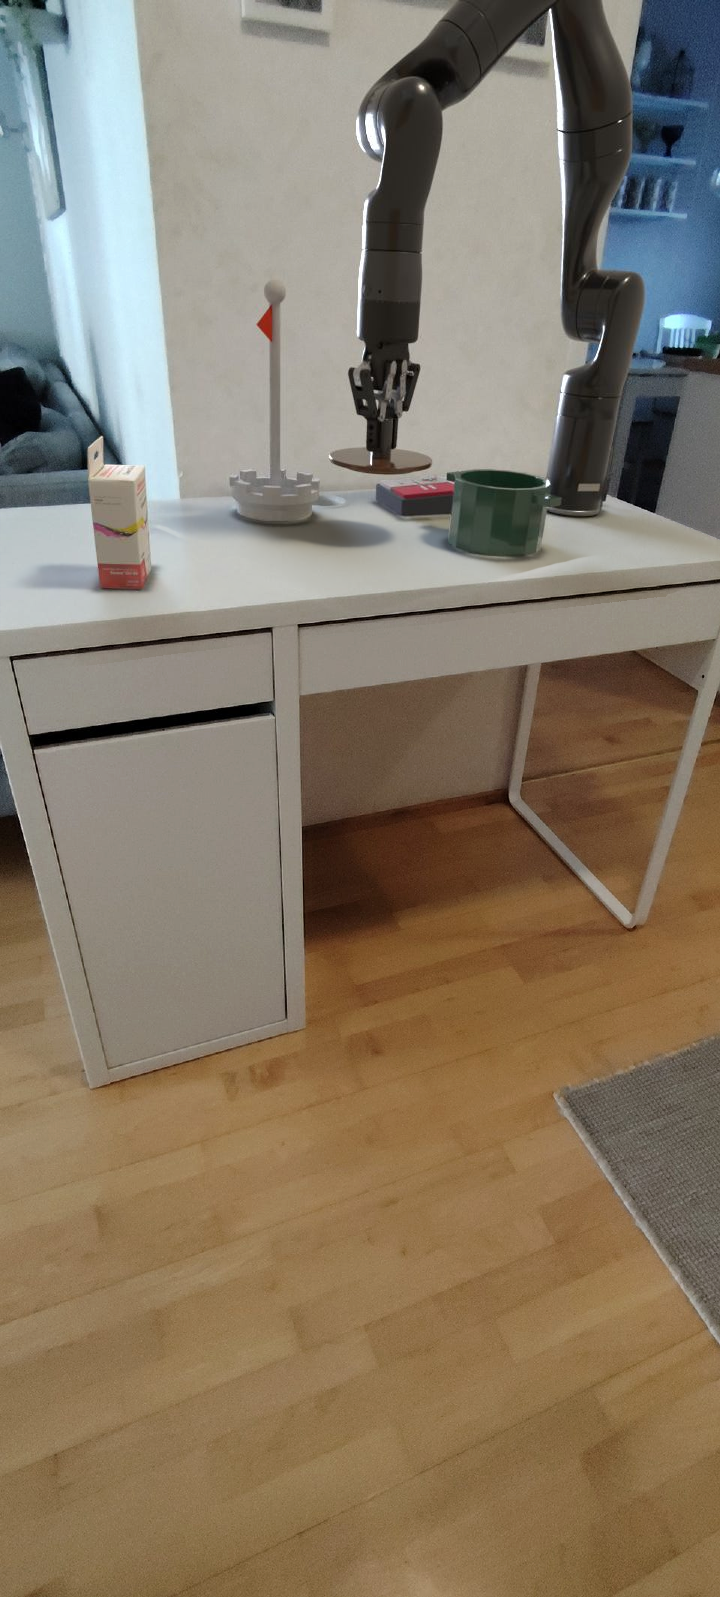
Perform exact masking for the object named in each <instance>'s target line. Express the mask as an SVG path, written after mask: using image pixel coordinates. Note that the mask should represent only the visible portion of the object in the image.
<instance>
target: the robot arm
mask: <svg viewBox="0 0 720 1597" xmlns="http://www.w3.org/2000/svg"><path fill="white" fill-rule="evenodd" d="M548 12H549V18H550V28H551V29H550V30H551V42H552V55H553V56H552V57H553V70H554V71H553V72H554V85H555V98H556V99H555V100H556V101H555V103H556V104H555V106H556V108H555V110H556V140H557V142H556V143H557V160H558V172H559V186H560V204H561V206H560V208H561V264H560V266H561V268H560V273H561V274H560V298H559V300H560V301H559V303H560V306H559V307H560V308H559V309H560V320H561V326H562V330H563V332H564V334H565V336H566V337H567V338H568V339H569V340H572V341H576V342H583V343H591V344H599V345H598V348H597V352H596V354H595V356H594V357H593V358H592V359H591V360H589V361H588V362H586V363H585V364H583V365H580V366H577V367H574V368H570V369H567V370H566V371H565V372H563V374H562V376H561V379H560V387H559V392H558V399H557V405H556V411H555V412H556V413H555V417H554V425H553V430H552V436H551V443H550V449H549V457H548V462H547V468H546V475H545V479H547V480H549V482H550V483H551V489H550V495H554V496H558V497H561V504H560V505H559V506H554V507H547V512H549V513H552V514H557V515H562V516H568V517H592V516H596V515H598V514H600V511H602V509H603V503H604V502H607V501H606V500H607V497H608V493H609V488H610V485H611V484H610V483H611V477H609V473H610V467H611V463H612V458H613V453H614V450H613V448H612V446H613V440H614V435H615V429H616V426H617V420H618V414H619V409H620V404H621V398H622V394H623V390H624V389H623V388H624V386H625V383H626V380H627V377H628V374H629V371H630V368H631V363H632V359H633V354H634V350H635V346H636V342H637V338H638V334H639V331H640V327H641V323H642V318H643V314H644V307H645V301H646V300H645V299H646V288H645V281H644V279H643V277H642V275H641V274H640V273H638V272H636V271H631V270H619V269H618V270H617V269H599V268H598V262H597V253H598V252H597V250H598V238H599V232H600V229H601V226H602V223H603V221H604V218H605V217H606V215H607V212H608V210H609V208H610V206H611V204H612V202H613V200H614V199H615V196H616V194H617V192H618V190H619V188H620V186H621V184H622V182H623V180H624V178H625V176H626V174H627V171H628V169H629V165H630V162H631V159H632V153H633V102H634V101H633V91H632V86H631V81H630V78H629V74H628V71H627V69H626V66H625V63H624V60H623V58H622V55H621V53H620V51H619V48H618V45H617V43H616V41H615V38H614V36H613V33H612V32H611V29H610V25H609V24H608V21H607V17H606V13H605V9H604V4H603V0H456V1H455V2H454V4H452V5H451V7H450V8H449V9H448V10H447V11H446V13H445V14H444V15H443V16H442V17H441V18H440V20H438V22H437V23H436V24H435V25H434V26H433V28H432V29H431V30H430V31H429V33H428V34H427V36H425V38H424V39H422V41H421V42H420V43H419V44H418V45H416V47H414V48H413V49H412V50H411V51H409V52H408V53H407V54H405V55H404V56H403V57H402V58H401V59H400V60H398V61H397V62H396V63H395V64H393V66H392V67H391V68H389V69H388V70H387V71H386V72H385V73H384V74H383V75H382V76H380V77H379V79H378V80H376V82H374V83H373V85H372V86H371V87H370V89H369V90H368V91H367V92H366V93H365V95H364V97H363V99H362V100H361V103H360V105H359V108H358V112H357V116H356V121H355V122H356V127H355V128H356V136H357V141H358V143H359V146H360V148H361V149H362V151H363V152H364V154H365V155H366V156H367V157H369V158H370V159H371V160H373V161H375V162H377V163H381V169H380V175H379V180H378V181H379V182H378V183H377V186H376V187H375V188H374V189H373V190H371V191H370V192H369V193H368V194H367V196H366V198H365V200H364V201H365V202H364V207H363V218H362V222H363V223H362V242H361V243H362V246H361V249H362V251H361V258H360V265H359V274H358V298H357V299H358V300H357V320H356V321H357V322H356V337H357V339H358V340H359V341H362V342H363V343H364V349H363V353H362V356H361V363H360V364H359V365H358V366H357V367H351V366H350V367H349V368H348V371H347V376H348V380H349V385H350V390H351V394H352V399H353V403H354V408H355V412H356V415H357V416H360V417H362V418H364V419H365V421H366V436H365V438H366V439H365V444H366V445H365V447H366V449H367V451H369V452H375V453H380V452H382V451H383V446H384V428H385V422H383V421H384V419H385V416H388V417H392V418H393V429H392V446H391V450H392V449H397V443H398V430H399V419H401V418H402V416H403V412H406V413H407V412H409V410H410V407H411V404H412V400H413V397H414V393H415V390H416V388H417V383H418V380H419V375H420V372H421V364H420V363H415V362H412V361H411V360H410V359H411V358H410V356H411V355H410V348H409V344H410V345H411V344H415V343H416V342H417V341H418V339H419V332H420V331H419V330H420V318H421V317H420V316H421V303H422V288H423V259H422V258H423V253H422V252H423V240H424V228H425V227H424V226H425V212H426V211H425V210H426V205H427V202H428V199H429V196H430V193H431V189H432V185H433V181H434V177H435V172H436V170H437V165H438V161H439V157H440V152H441V148H442V142H443V132H444V117H443V111H445V110H446V109H448V108H450V107H453V106H455V105H458V104H459V103H461V102H463V101H464V100H465V99H467V98H468V97H469V96H470V95H471V94H472V93H473V92H474V91H475V90H476V88H478V86H479V85H480V84H481V83H482V82H483V81H484V80H485V78H486V77H487V76H488V75H489V74H490V73H491V72H492V71H493V70H494V68H495V67H496V66H497V65H498V64H499V63H500V61H502V59H503V58H504V57H505V56H506V54H507V53H508V52H509V51H510V50H511V49H512V48H513V47H514V46H515V44H516V43H518V42H519V40H521V38H522V37H523V36H524V35H525V34H526V33H527V32H528V31H529V30H530V29H531V28H533V26H534V25H535V24H536V23H537V22H538V21H539V20H541V18H542V17H544V16H545V15H546V14H547V13H548ZM375 391H377V392H375ZM376 400H377V401H378V404H377V401H376ZM364 401H365V403H364Z"/></svg>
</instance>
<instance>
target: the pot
mask: <svg viewBox="0 0 720 1597" xmlns="http://www.w3.org/2000/svg"><path fill="white" fill-rule="evenodd" d="M446 476H447V477H446V480H448V481H451V482H454V485H453V495H452V505H451V514H449V523H448V524H449V525H448V533H447V534H448V535H447V540H448V544H450V545H451V546H453V547H454V548H455V549H456V548H457V549H458V550H461V551H465V552H468V553H472V554H478V555H482V556H490V557H505V558H509V557H510V558H511V557H525V556H530V555H533V554H537V553H538V552H539V551H541V549H542V544H543V537H544V531H545V525H546V519H547V514H548V511H547V507H554V506H559V505H560V504H561V497H558V496H554V495H550V489H551V483H550V482H549V480H547V479H546V477H545V478H544V477H542V476H540V475H536V474H532V473H528V472H523V471H515V470H509V469H508V470H507V469H495V468H494V469H493V468H484V469H483V468H481V469H480V468H479V469H477V468H475V469H468V470H467V469H465V470H461V471H459V470H456V471H450V472H446Z"/></svg>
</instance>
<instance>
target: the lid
mask: <svg viewBox="0 0 720 1597" xmlns="http://www.w3.org/2000/svg"><path fill="white" fill-rule="evenodd" d="M383 422H385V428H384V446H383V451H382V452H380V453H375V452H369V451H367V449H366V446H365V447H348V448H342V449H341V448H340V449H336V450H334V451H332V452H330V453H329V455H328V460H329V462H330V463H331V464H333V465H334V466H337V467H341V468H344V469H347V470H350V471H353V472H357V473H361V474H369V475H383V476H393V475H394V476H396V475H407V474H412V473H414V472H415V473H416V472H417V473H418V472H421V471H426V470H429V469H430V468H432V466H433V458H432V457H430V456H429V455H426V454H424V453H420V452H417V451H413V450H407V449H399V448H395V449H392V450H391V446H392V429H393V418H392V417H388V416H385V419H384V421H383Z"/></svg>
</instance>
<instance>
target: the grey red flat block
mask: <svg viewBox="0 0 720 1597" xmlns="http://www.w3.org/2000/svg"><path fill="white" fill-rule="evenodd" d="M446 477H447V475H441V476H438V475H429V476H428V475H427V476H415V477H410V478H394V479H393V478H391V479H384V480H383V479H382V480H380V481H379V483H376V485H375V501H377V502H378V503H380V504H381V505H384V506H385V507H386V508H388V509H389V510H391V511H393V512H395V513H396V514H398V515H400V516H401V517H419V516H440V515H450V514H451V505H452V495H453V485H454V482H451V481H448V480H446Z"/></svg>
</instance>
